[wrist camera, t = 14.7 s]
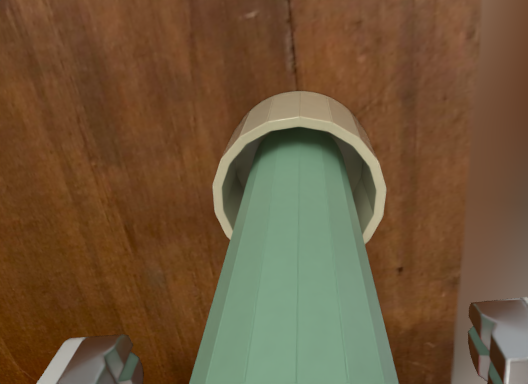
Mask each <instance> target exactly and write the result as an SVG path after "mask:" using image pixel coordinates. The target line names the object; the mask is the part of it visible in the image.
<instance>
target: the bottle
mask: <svg viewBox="0 0 528 384" xmlns="http://www.w3.org/2000/svg"><path fill="white" fill-rule="evenodd" d="M189 384H399V383H398V379H397V374H396V370H395V366H394V362H393V358H392V354H391V350H390V346H389V342H388V338H387V334H386V330H385V326H384V321H383V317H382V313H381V309H380V305H379V301H378V297H377V293H376V289H375V285H374V281H373V277H372V273H371V268H370V264H369V260H368V256H367V252H366V248H365V244H364V240H363V236H362V232H361V228H360V224H359V219H358V215H357V211H356V207H355V203H354V199H353V195H352V191H351V187H350V183H349V179H348V175H347V171H346V166H345V162H344V158H343V155H342V153H341V151H340V148H339V147H338V145H337V143H336V142H335V140H334V139H333V138H332V137H331V136H330V135H329V134H327V133H326V132H325V131H321V130H315V129H310V128H304V127H294V128H288V129H281V130H275V131H273V132H271V133H270V134H269V135H268V136H266V137H265V138H264V140H263V141H262V142H261V144H260V145H259V147H258V149H257V151H256V153H255V156H254V159H253V163H252V166H251V170H250V173H249V177H248V180H247V184H246V187H245V191H244V194H243V198H242V201H241V205H240V208H239V212H238V215H237V219H236V222H235V226H234V229H233V233H232V236H231V240H230V243H229V247H228V250H227V254H226V257H225V261H224V264H223V268H222V271H221V275H220V278H219V282H218V285H217V289H216V292H215V296H214V299H213V303H212V306H211V310H210V313H209V316H208V320H207V323H206V327H205V330H204V334H203V337H202V341H201V344H200V348H199V351H198V355H197V358H196V362H195V365H194V369H193V372H192V376H191V379H190V383H189Z"/></svg>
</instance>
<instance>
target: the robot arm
mask: <svg viewBox="0 0 528 384" xmlns="http://www.w3.org/2000/svg"><path fill="white" fill-rule="evenodd" d="M469 318H470V320H471V322H472V324H473V327H472V328H471V329H470V330H469V331H468V344H469V349H470V355H471V358H472V361H473V364H474V366H475V369H476V371H477V373H478V375H479V376H480V377H482V378H483V379H484V380H486V381H487V382H488V383H487V384H528V297H524V298H520V299H519V298H514V299H505V300H494V301H484V302H474V303H471V304H470V307H469ZM132 347H133V343H132V342H131V340H130V338H129V336H128V335H123V334H122V335H107V336H91V337H82V338H70V339H68V340H67V341H65V342H64V343H63V345H62V346H61V348H60V349H59V351H58V352H57V354H56V355H55V357H54V358H53V360H52V361H51V363H50V364H49V366H48V367H47V369H46V370H45V372H44V373H43V375H42V376H41V378H40V379H39V381H38V382H37V384H143V377H144V372H143V366H142V363H141V361H140V358H139V357H138V356H136V355H135V354H133V353H132V352H131V349H132Z"/></svg>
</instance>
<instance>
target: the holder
mask: <svg viewBox="0 0 528 384" xmlns="http://www.w3.org/2000/svg"><path fill="white" fill-rule="evenodd" d="M294 127H304V128H310V129H315V130H321V131H325V132H326V133H327V134H329V135H330V136H331V137H332V138H333V139H334V140H335V142H336V143H337V145H338V147H339V148H340V151H341V153H342V155H343V158H344V162H345V166H346V171H347V175H348V179H349V183H350V187H351V191H352V195H353V199H354V203H355V207H356V211H357V215H358V219H359V224H360V228H361V232H362V236H363V240H364V244H366V243H367V242H368V241H369V240H370V238H371V237H372V235H373V233H374V231H375V230H376V228H377V226H378V224H379V223H380V221H381V219H382V217H383V213H384V205H385V197H386V185H385V182H384V178H383V175H382V171H381V167H380V164H379V161H378V159H377V157H376V155H375V152H374V150H373V148H372V146H371V143H370V141H369V139H368V137H367V134H366V132H365V130H364V129H363V128H362V126H361V124H360V123H359V121H358V120H357V118H356V117H355V116H354V115H353V114H352V113H351V112H350V111H349V110H348V109H347V108H346V107H345V106H344V105H342V104H341V103H339V102H337V101H336V100H334V99H332V98H330V97H327V96H325V95H322V94H318V93H314V92H307V91H294V92H286V93H282V94H278V95H275V96H272V97H270V98H268V99H266V100H264V101H262V102H260V103H259V104H258V105H256V106H255V107H254V108H252V109H251V110H250V111H249V112H248V113H247V114H246V115H245V117H244V118H243V119H242V121H241V122H240V124H239V125H238V127H237V128H236V129H235V131H234V133H233V135H232V137H231V139H230V141H229V143H228V146H227V148H226V150H225V152H224V154H223V156H222V158H221V160H220V163H219V166H218V169H217V173H216V176H215V179H214V182H213V186H212V187H213V199H214V211H215V214H216V216H217V218H218V220H219V222H220V224H221V226H222V228H223V230H224V232H225V234H226V236H227V237H228V238H229V239H230V240H231V236H232V233H233V229H234V226H235V222H236V219H237V215H238V212H239V208H240V205H241V201H242V198H243V194H244V191H245V187H246V184H247V180H248V177H249V173H250V170H251V166H252V163H253V159H254V156H255V153H256V151H257V149H258V147H259V145H260V144H261V142H262V141H263V140H264V138H265V137H266V136H268V135H269V134H270V133H271V132H273V131H275V130H281V129H288V128H294Z"/></svg>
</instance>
